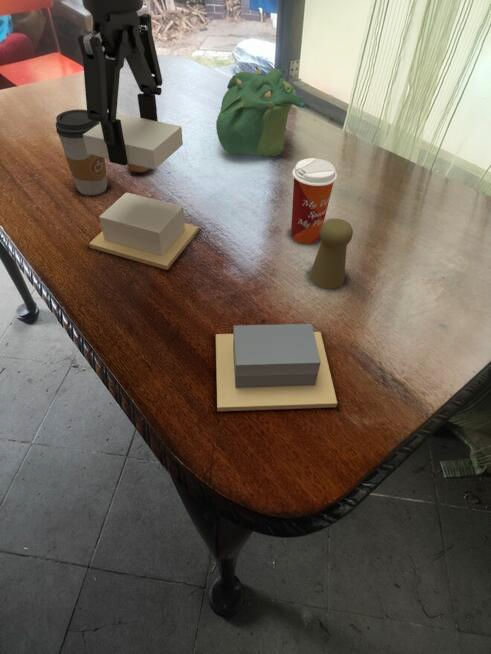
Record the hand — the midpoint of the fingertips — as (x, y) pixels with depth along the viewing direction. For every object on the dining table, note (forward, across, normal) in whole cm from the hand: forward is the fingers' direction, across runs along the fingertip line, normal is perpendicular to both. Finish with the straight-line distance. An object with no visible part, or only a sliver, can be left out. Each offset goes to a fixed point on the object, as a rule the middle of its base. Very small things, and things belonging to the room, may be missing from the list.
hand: (135, 149), depth 72 cm
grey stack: (+18, -20, -31) cm, 41 cm away
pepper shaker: (+18, +4, -33) cm, 38 cm away
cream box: (+18, +1, +1) cm, 18 cm away
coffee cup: (+18, +12, +21) cm, 30 cm away
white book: (0, 0, 0) cm, 0 cm away
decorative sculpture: (+18, +44, -5) cm, 48 cm away
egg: (+18, +23, +16) cm, 33 cm away
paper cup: (+18, +14, -26) cm, 35 cm away
